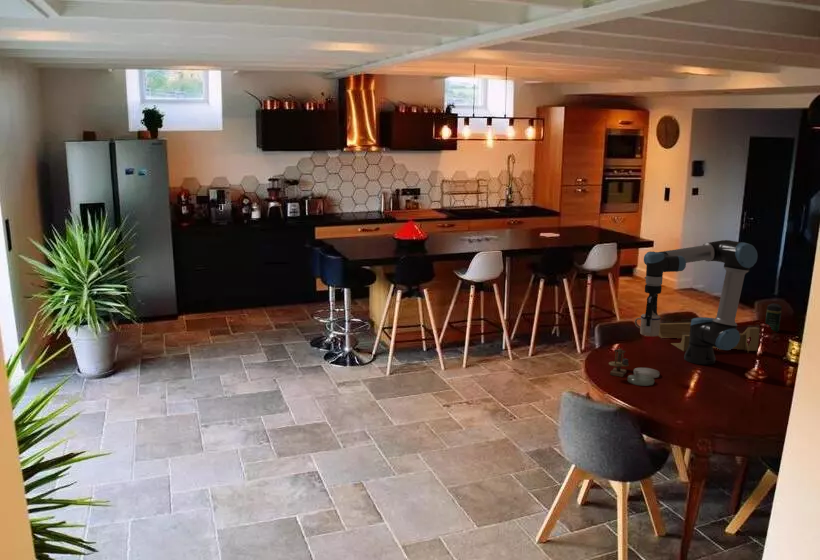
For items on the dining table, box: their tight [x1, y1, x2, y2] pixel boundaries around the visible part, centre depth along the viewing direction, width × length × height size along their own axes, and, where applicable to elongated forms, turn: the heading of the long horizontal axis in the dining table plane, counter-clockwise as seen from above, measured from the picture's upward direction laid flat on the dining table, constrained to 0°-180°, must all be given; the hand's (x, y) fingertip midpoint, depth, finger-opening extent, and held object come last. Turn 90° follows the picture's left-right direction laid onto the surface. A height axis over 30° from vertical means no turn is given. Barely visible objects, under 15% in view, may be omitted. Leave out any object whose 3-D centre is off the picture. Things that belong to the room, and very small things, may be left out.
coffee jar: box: [764, 302, 783, 333], centre depth 418 cm, size 10×8×19 cm
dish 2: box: [627, 374, 655, 387], centre depth 324 cm, size 12×12×2 cm
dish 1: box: [633, 367, 661, 379], centre depth 336 cm, size 12×12×2 cm
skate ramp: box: [657, 318, 760, 353], centre depth 389 cm, size 40×35×16 cm
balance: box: [608, 348, 630, 378], centre depth 335 cm, size 21×6×14 cm, turn 150°
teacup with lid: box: [634, 312, 662, 337], centre depth 332 cm, size 12×9×12 cm
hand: (649, 330), depth 332 cm, fingers closed on teacup with lid, 9 cm apart
